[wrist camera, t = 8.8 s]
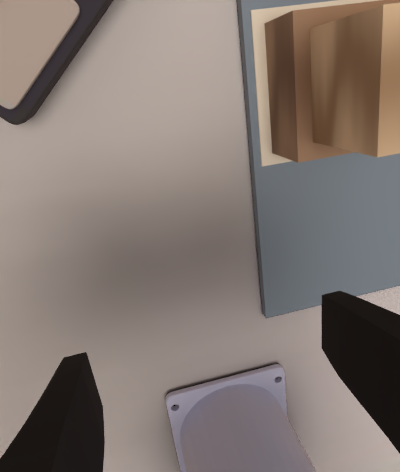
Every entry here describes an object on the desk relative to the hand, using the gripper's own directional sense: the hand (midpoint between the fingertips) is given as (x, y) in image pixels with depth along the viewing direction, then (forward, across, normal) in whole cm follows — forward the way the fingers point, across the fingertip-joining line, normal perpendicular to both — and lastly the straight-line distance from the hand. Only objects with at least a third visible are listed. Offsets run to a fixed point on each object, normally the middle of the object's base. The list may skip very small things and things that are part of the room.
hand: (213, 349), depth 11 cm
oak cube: (+7, -9, -6) cm, 13 cm away
